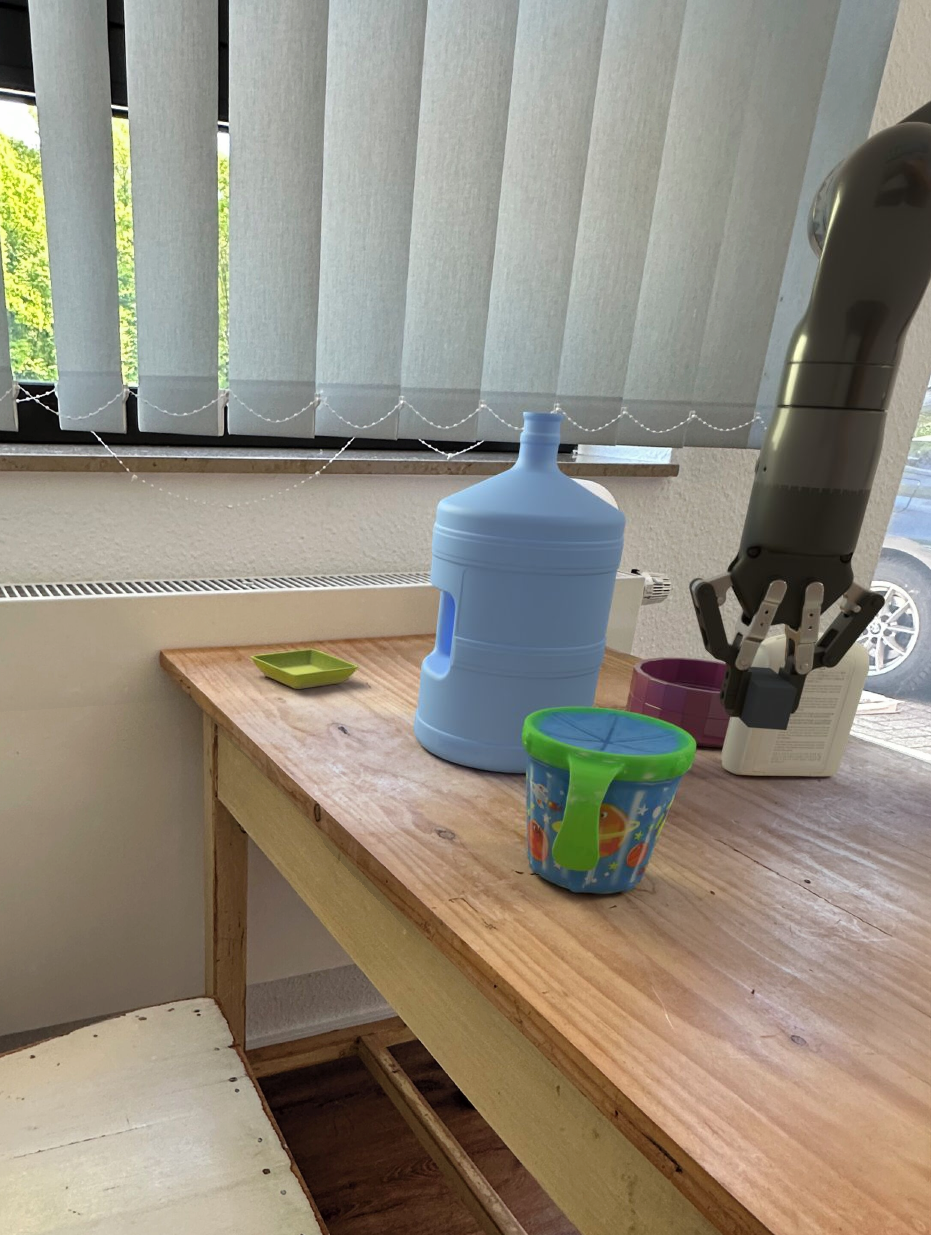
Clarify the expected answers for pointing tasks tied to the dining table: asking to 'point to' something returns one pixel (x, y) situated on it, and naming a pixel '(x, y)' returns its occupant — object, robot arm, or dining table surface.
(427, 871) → the dining table surface
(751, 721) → the eraser
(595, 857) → the snack cup
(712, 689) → the bowl
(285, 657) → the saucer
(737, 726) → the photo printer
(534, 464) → the water jug
